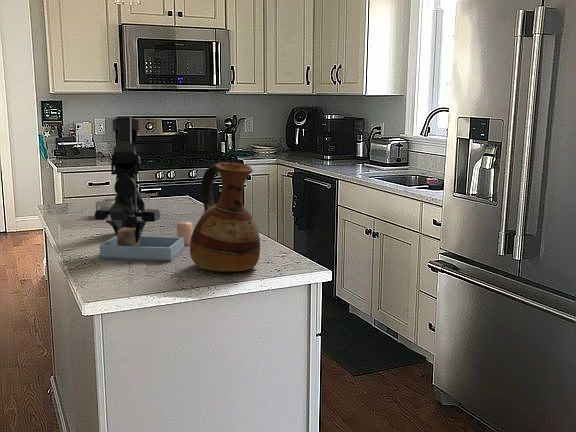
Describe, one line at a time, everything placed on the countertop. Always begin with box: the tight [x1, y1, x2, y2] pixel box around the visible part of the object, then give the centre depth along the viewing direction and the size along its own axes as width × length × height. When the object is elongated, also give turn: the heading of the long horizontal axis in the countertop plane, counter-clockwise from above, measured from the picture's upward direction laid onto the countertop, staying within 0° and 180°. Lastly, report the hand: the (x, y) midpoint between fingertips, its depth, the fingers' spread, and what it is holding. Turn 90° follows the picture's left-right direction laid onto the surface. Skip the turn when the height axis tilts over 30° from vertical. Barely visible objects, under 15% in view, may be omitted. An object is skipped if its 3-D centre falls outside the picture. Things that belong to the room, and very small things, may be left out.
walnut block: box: [117, 227, 140, 246], centre depth 193 cm, size 5×5×5 cm
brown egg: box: [176, 220, 194, 247], centre depth 205 cm, size 5×5×7 cm
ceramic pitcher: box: [189, 161, 261, 273], centre depth 176 cm, size 20×20×30 cm
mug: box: [95, 198, 115, 211], centre depth 247 cm, size 10×7×7 cm
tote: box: [99, 234, 185, 262], centre depth 193 cm, size 22×14×4 cm, turn 83°
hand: (128, 242), depth 193 cm, fingers closed on walnut block, 5 cm apart
